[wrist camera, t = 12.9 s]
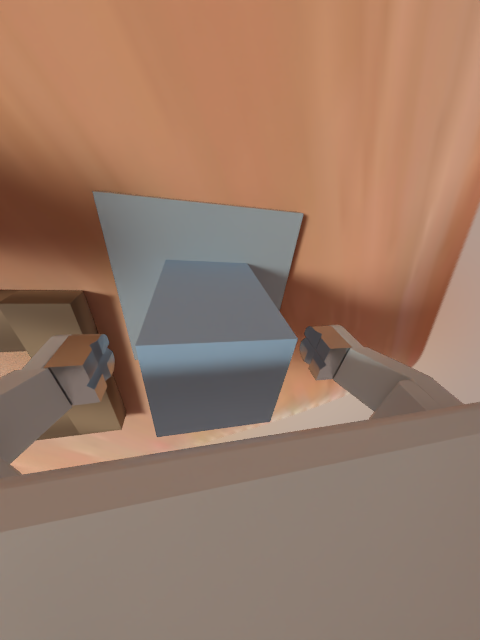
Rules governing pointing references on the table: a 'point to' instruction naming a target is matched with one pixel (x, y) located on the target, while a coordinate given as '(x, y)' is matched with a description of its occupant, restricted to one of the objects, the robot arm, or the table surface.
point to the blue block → (212, 348)
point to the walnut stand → (36, 329)
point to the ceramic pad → (190, 244)
